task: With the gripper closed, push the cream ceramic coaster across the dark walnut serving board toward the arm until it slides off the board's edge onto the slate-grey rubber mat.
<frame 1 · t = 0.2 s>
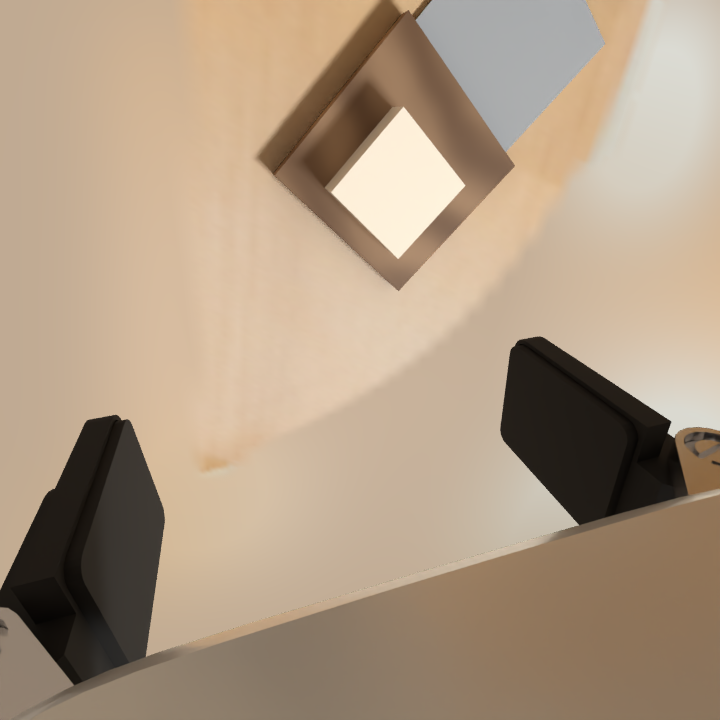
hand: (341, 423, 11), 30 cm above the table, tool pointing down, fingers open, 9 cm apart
board: (396, 168, 38), on the table
coaster: (390, 184, 37), point 1 cm above the table, touching board
mat: (512, 35, 35), on the table
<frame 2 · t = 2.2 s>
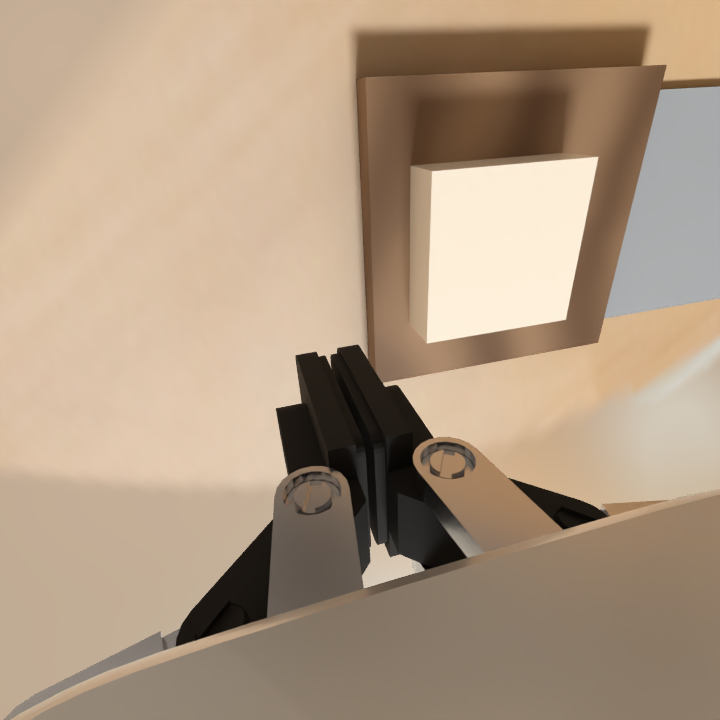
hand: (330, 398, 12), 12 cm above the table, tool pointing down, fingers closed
board: (493, 233, 25), on the table
coaster: (481, 242, 23), point 1 cm above the table, touching board
mat: (690, 209, 27), on the table
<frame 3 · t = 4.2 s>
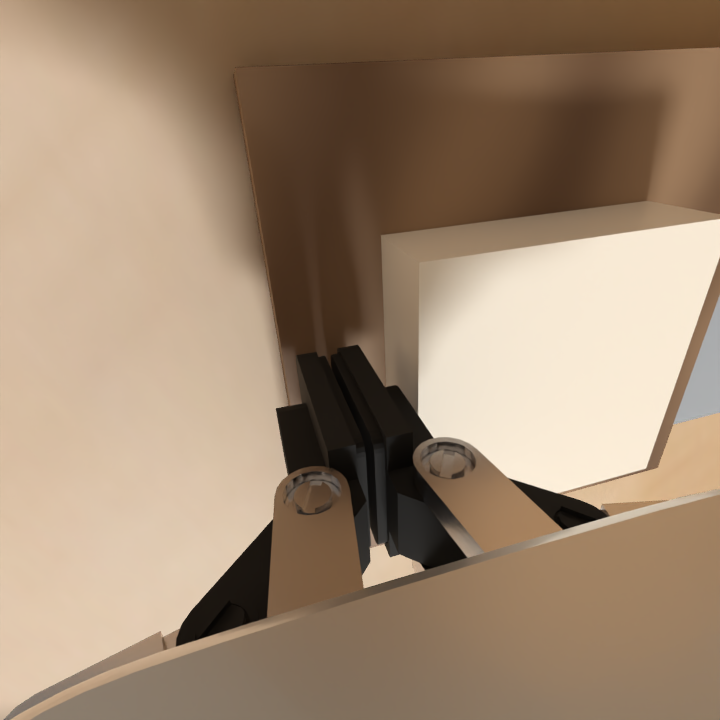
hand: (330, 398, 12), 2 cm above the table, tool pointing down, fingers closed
board: (500, 324, 15), on the table
coaster: (507, 348, 14), point 2 cm above the table, touching board
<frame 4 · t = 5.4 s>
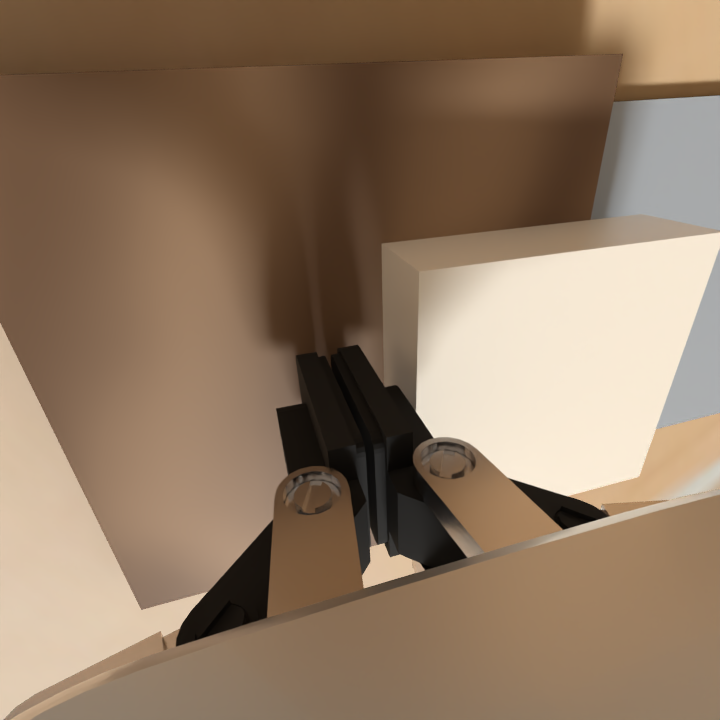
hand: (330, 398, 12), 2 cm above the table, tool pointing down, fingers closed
board: (331, 354, 14), on the table
coaster: (504, 356, 14), point 1 cm above the table, touching board, gripper
mat: (677, 293, 17), on the table
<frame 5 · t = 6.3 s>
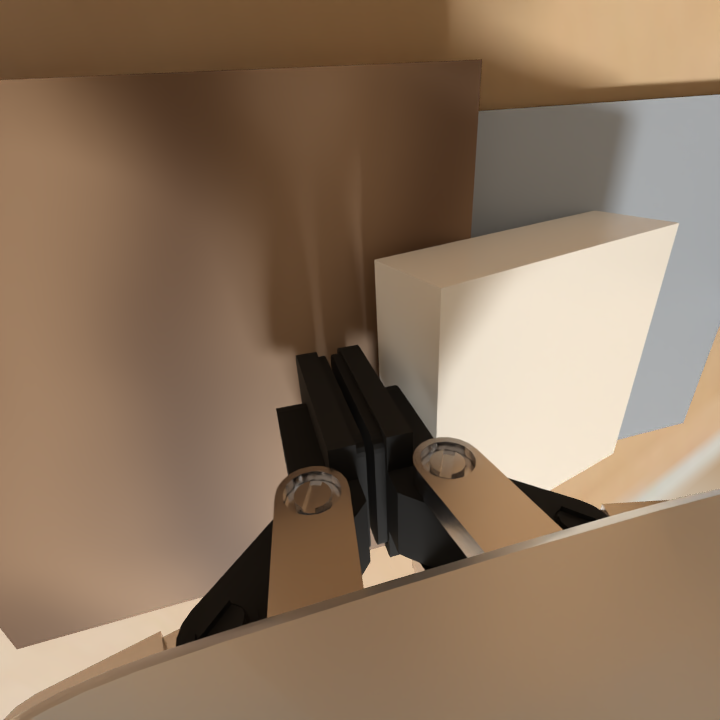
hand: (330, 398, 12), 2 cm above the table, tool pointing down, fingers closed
board: (209, 378, 13), on the table
coaster: (487, 359, 14), point 1 cm above the table, tilted 14°, touching gripper, mat
mat: (595, 308, 16), on the table
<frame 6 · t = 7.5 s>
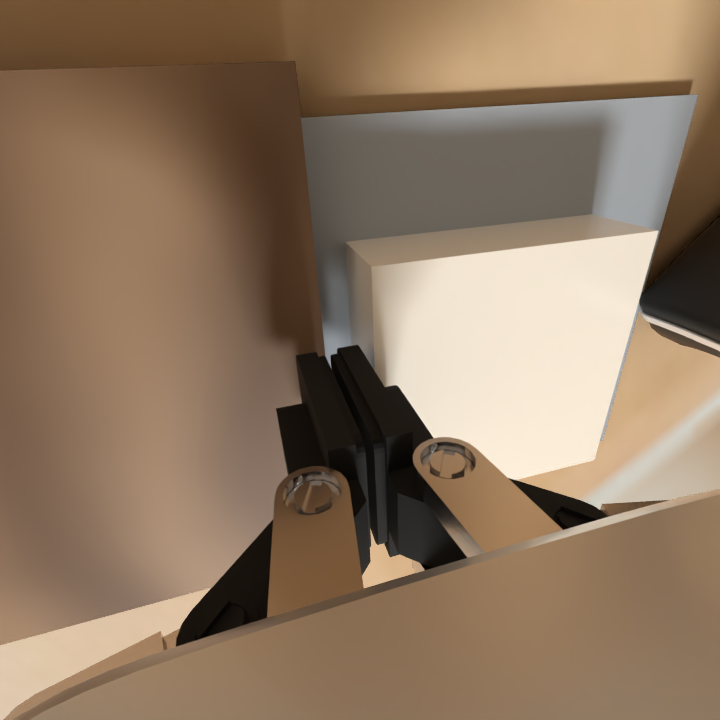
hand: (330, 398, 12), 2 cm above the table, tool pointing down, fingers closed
board: (53, 399, 12), on the table
battery charger: (705, 261, 17), on the table, touching mat
coaster: (466, 347, 15), resting on mat, touching gripper
mat: (489, 323, 15), on the table
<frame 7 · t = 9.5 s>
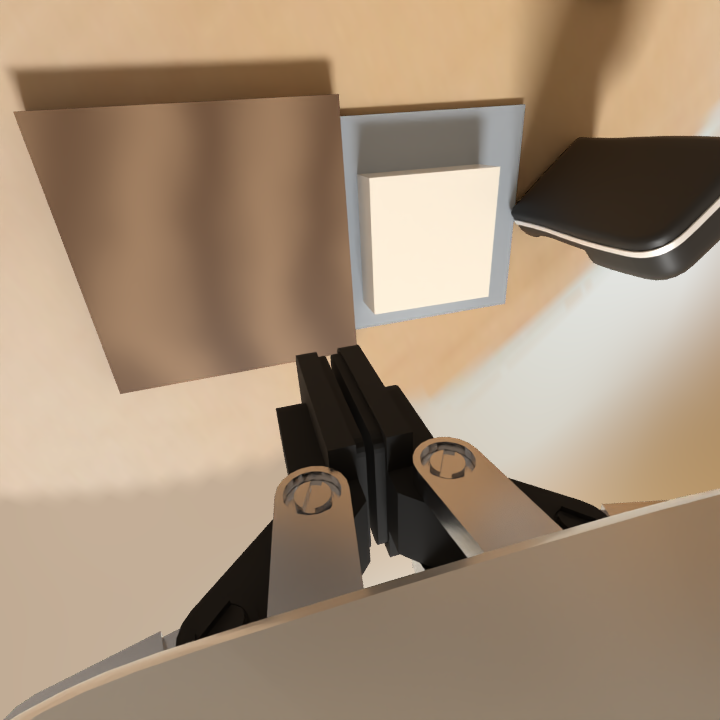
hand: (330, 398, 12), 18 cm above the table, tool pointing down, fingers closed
board: (220, 249, 26), on the table
battery charger: (550, 193, 30), on the table, touching mat
coaster: (419, 235, 29), resting on mat
mat: (431, 223, 29), on the table
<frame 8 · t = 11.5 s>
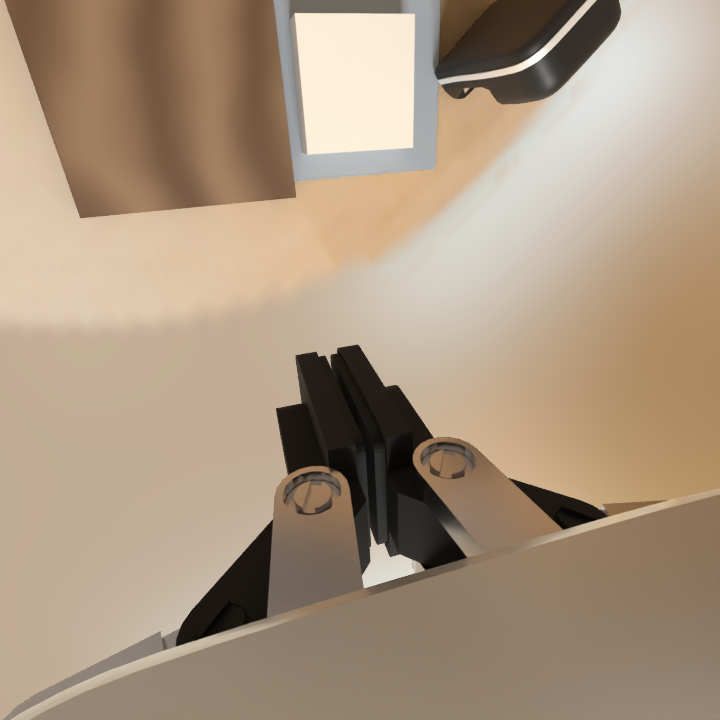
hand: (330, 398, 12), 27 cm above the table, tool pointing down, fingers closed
board: (168, 87, 30), on the table
battery charger: (472, 60, 34), on the table, touching mat
coaster: (350, 89, 32), resting on mat
mat: (361, 79, 32), on the table
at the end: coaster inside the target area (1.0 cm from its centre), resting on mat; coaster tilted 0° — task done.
